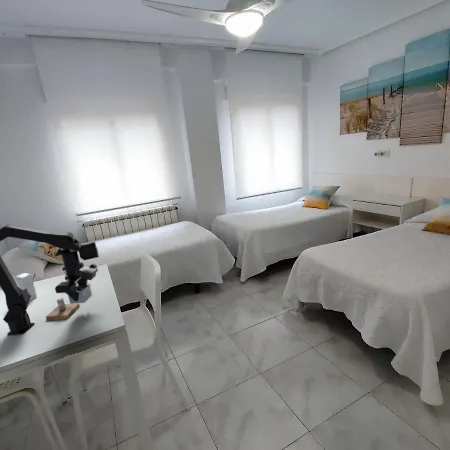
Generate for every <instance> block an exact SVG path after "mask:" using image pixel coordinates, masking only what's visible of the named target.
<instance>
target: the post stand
mask: <svg viewBox="0 0 450 450" xmlns="http://www.w3.org/2000/svg"><path fill="white" fill-rule="evenodd" d="M56 302H57V306H56V307H55V308H54V309H52V311H50V312H49V313H48V314H47V315H46V316H45V319H46V321H51V320H65V319H67V320H68V319H69V318H70V317H71V316H72V315H73V314H74V313H75V311H76V310H78V308H80V303H75V304H70V303H67V304H65V301H64V298H63V297H61V298H57V299H56Z"/></svg>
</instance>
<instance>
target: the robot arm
mask: <svg viewBox="0 0 450 450" xmlns="http://www.w3.org/2000/svg"><path fill="white" fill-rule="evenodd" d="M8 238H13V239H20V240H27V241H33V242H38V243H45V244H49V245H51V246H52V247H55V248H57V251H56V252H55V253H54V254H55V255H54V256H55V257H58V256H61V260H62V264H63V267H62V269H61V270H62V271H63V270H65V271H66V275H67V276H66V277H65V276H64V280H65V281H61V282H59V283H58V284H57V285H56V286H55V287H54V291H55V293H56V294H67V296H68V295H69V296H70V297H71V298H72V299H73V300H74V301H75V302H76V301H78V296H77V288H78V287H79V286H80V285H87V281H88V280H89V281H92V280H93V279H95V277H96V275H97V272H98V271H99V270H98V267H97V264H96V263H94V262H93V263H91V264H90V265H87V266H85V265H84V263H83V262H82V261H87V260H92V259H97V258H99V257H100V255H99V250H98V247H97V244H96V241H91V242H87V243H81V241H79V240H78V239H76V238H75V235H74V234H73V233H72V232H70V231H45V230H40V229H35V228H29V227H23V226H18V225H17V226H16V225H13V224H5V225H4V226H3V227H1V228H0V242H2V241H4V240H5V239H8ZM80 259H81V260H82V261H81V262H80ZM66 280H69V281H68V282H66ZM75 282H77V283H75ZM77 284H78V285H79V286H76V285H77ZM0 289H1V290H2V292H3V293H4V295H5V305H6V308H7V312H6V313H5V315H4V317H3V319H2V320H3V321H4V322H5V323H6V324H7V325H8V329H9V331H8V332H7V333H6V335H7V336H10V335H11V336H12V335H13V336H14V335H23V334H25V333H26V332H27V331H29V329H30V328H32V327H33V326H34V325H35V322H31V319H30V316H29V313H28V312H27V309H28V307H29V305H30V303H31V300H32V299H30V298H31V295H30V294H29V293H28V290H27V288H26V289H24V290H22V289H20V288H19V285H18V283H17V282H16V281H15V278H14V277H13V276H12V274H11V271H10V270H9V268H8V267H7V265H6V263H5V262H4V260H3V258H2V256H1V255H0Z"/></svg>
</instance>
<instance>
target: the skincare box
mask: <svg viewBox="0 0 450 450" xmlns="http://www.w3.org/2000/svg"><path fill="white" fill-rule="evenodd" d="M15 277H16V281H17V282H16V283H17V286H18V287H19V288H20V289H22V290H24V289H26V288H27V290H28V293H29V294H30V295H31V298H30V299H31V300H33V299H36V298H37V292H36V287H35V284H34V280H33V277H32V274H30V273H26V272H24V273H21V274H18V275H16V276H15Z"/></svg>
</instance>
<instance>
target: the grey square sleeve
mask: <svg viewBox="0 0 450 450" xmlns="http://www.w3.org/2000/svg"><path fill="white" fill-rule="evenodd" d="M77 296H78V301H76V302H75V301H74V300H73V299H72V298H71V297H70V296H69V295H67V297H68V300H69V304H78V303H79V304H84V303H87V301H88V300H89V299H90V298H91V297H92V290H91V287H90V286H89V285H80V286H79V287H78V288H77Z"/></svg>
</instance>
